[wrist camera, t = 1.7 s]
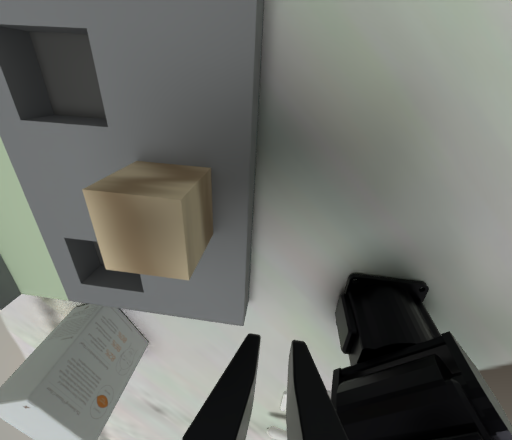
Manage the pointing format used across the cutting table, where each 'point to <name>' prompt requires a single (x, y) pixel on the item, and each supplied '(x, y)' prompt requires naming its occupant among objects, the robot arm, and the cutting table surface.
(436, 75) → the cutting table surface
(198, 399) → the cutting table surface
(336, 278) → the cutting table surface
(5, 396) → the small box
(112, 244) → the maple block
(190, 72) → the board
